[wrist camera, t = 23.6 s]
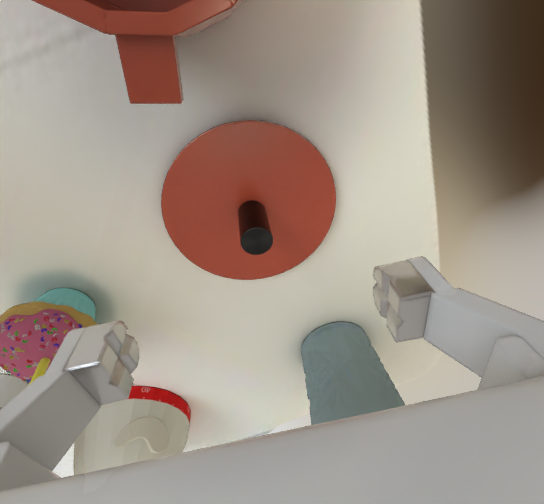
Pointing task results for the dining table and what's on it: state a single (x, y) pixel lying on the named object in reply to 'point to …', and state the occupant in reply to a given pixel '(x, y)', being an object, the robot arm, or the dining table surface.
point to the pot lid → (248, 200)
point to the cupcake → (41, 330)
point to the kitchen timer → (133, 430)
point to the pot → (147, 37)
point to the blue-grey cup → (345, 374)
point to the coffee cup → (10, 388)
